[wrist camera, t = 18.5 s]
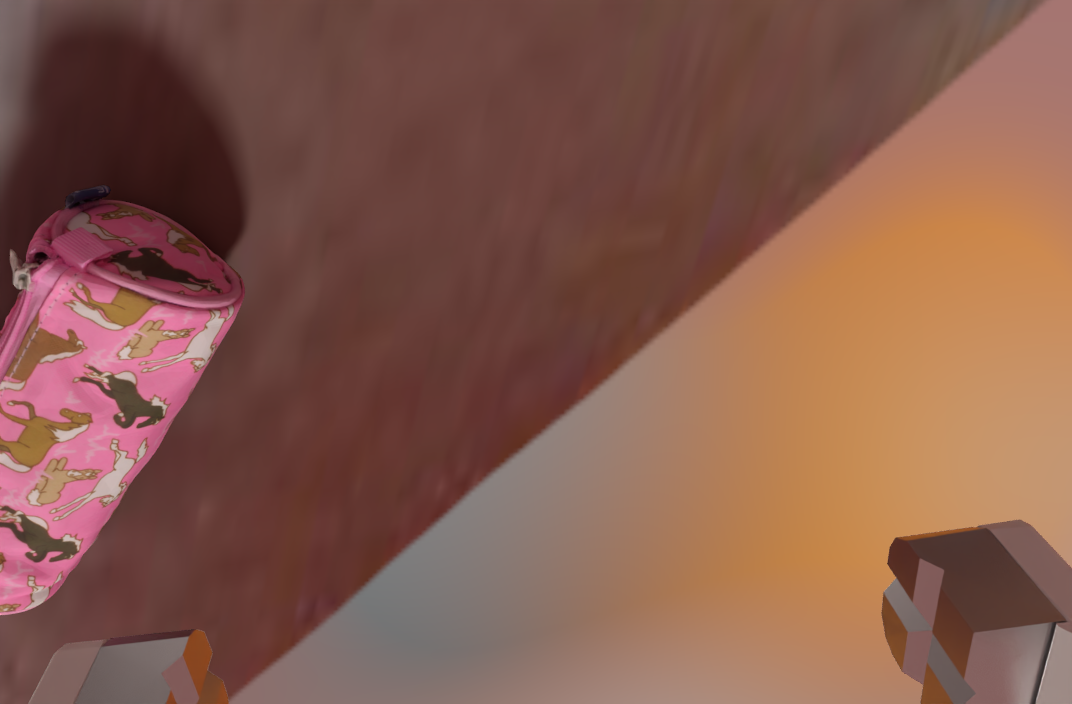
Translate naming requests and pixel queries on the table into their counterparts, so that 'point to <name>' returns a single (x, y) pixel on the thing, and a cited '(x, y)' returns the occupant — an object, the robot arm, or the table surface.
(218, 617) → the table surface
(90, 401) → the pencil case
